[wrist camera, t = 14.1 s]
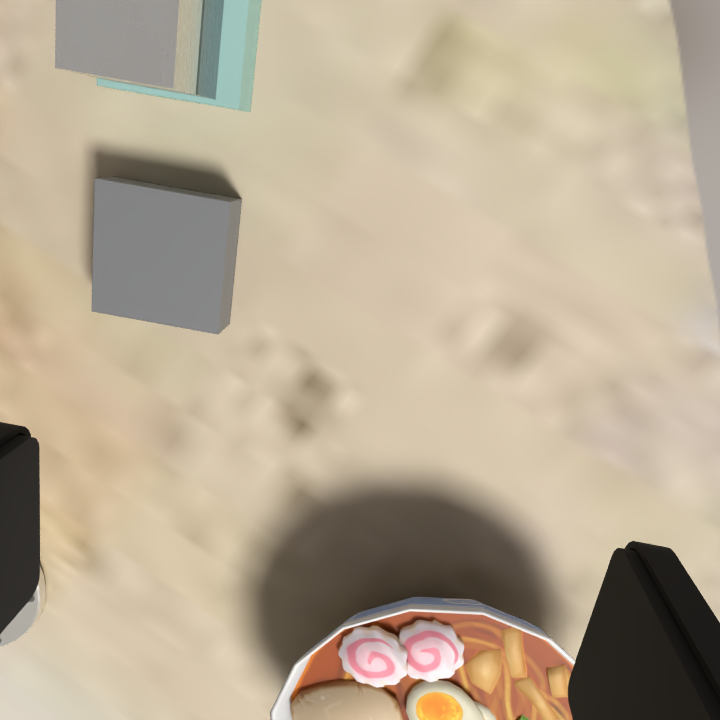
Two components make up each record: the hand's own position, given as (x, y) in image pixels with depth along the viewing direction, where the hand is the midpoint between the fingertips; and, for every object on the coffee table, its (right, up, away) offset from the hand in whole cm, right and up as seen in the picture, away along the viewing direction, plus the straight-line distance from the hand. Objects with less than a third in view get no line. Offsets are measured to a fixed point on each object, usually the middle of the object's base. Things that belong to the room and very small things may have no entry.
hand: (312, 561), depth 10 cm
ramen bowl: (+7, -20, +38) cm, 44 cm away
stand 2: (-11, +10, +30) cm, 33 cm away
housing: (-9, +21, +23) cm, 33 cm away
